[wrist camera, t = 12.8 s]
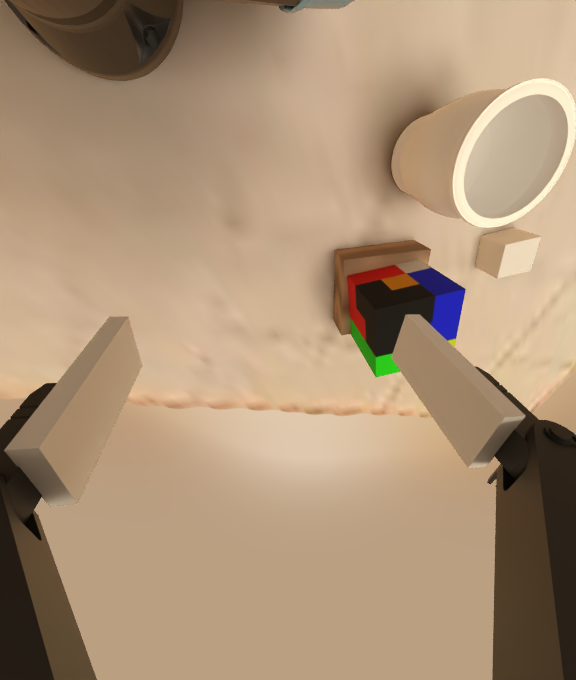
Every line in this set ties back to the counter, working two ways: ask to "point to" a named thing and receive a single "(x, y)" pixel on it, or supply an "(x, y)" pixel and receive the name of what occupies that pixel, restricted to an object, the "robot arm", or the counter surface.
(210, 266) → the counter surface
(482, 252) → the beige wooden block
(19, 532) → the robot arm
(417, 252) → the walnut block
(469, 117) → the jar
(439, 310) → the puzzle toy
